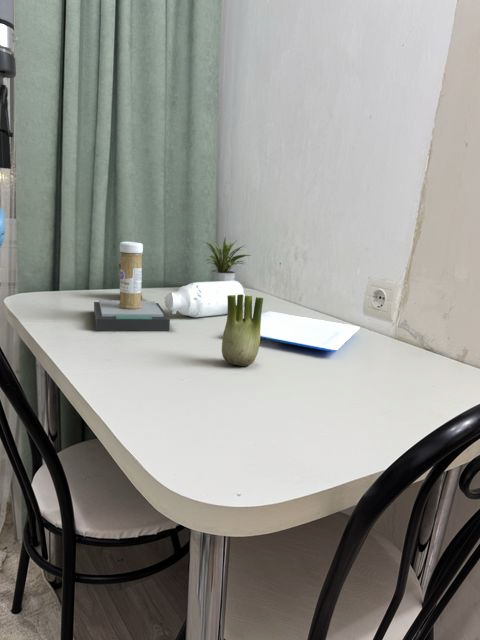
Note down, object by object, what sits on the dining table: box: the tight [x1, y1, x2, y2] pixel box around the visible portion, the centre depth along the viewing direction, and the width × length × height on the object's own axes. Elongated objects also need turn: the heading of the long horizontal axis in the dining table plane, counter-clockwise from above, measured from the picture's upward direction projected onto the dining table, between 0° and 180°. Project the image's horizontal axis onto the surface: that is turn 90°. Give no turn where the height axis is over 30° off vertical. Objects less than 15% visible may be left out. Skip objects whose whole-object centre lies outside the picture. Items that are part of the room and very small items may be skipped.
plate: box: [252, 310, 361, 353], centre depth 106 cm, size 22×22×2 cm
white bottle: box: [164, 279, 246, 319], centre depth 117 cm, size 8×19×8 cm, turn 132°
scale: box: [93, 299, 171, 332], centre depth 107 cm, size 16×14×3 cm
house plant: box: [204, 236, 251, 282], centre depth 146 cm, size 14×14×16 cm
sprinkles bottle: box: [119, 241, 144, 309], centre depth 104 cm, size 5×5×13 cm
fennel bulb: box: [221, 294, 264, 367], centre depth 84 cm, size 6×5×12 cm
